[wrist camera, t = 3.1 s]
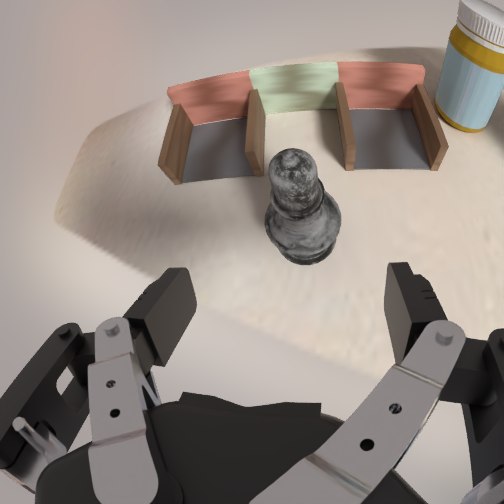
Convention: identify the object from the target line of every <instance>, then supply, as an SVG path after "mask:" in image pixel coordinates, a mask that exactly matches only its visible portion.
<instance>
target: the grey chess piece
mask: <svg viewBox="0 0 504 504" xmlns="http://www.w3.org/2000/svg"><path fill="white" fill-rule="evenodd" d="M268 175H269V179H270V182H271V184H272V190H271V203H270V205H269V206H268V209H267V212H266V215H265V227H266V232H267V234H268V236H269V238H270V240H271V242H272V243H273V244H274V245H275V246H276V247H277V248H279V250H280V252H281V254H282V255H283V256H284V257H285V258H286V259H288V260H289V261H291V262H293V263H296V264H299V265H312V264H316V263H318V262H320V261H322V260H324V259H325V258H326V257H327V256H328V255H329V254H330V253H331V252H332V250H333V248H334V246H335V243H336V237H337V235H338V233H339V230H340V226H341V213H340V210H339V207H338V204H337V203H336V201H335V200H334V199H333V197H332V196H330V195H329V194H328V193H327V192H326V191H325V189H324V186H323V184H322V182H321V181H320V180H319V178H318V174H317V166H316V163H315V161H314V159H313V158H312V157H311V155H310V154H308V153H307V152H305V151H303V150H300V149H295V148H291V149H285V150H283V151H281V152H279V153H278V154H276V155H275V156H274V157H273V159H272V160H271V162H270V164H269V172H268Z"/></svg>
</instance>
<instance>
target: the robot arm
mask: <svg viewBox="0 0 504 504" xmlns="http://www.w3.org/2000/svg"><path fill="white" fill-rule="evenodd" d="M196 307H197V301H196V296H195V293H194V289H193V285H192V282H191V278H190V274H189V271H188V269H187V268H168V269H167V270H166V271H165V272H164V274H163V275H162V276H161V277H160V278H159V279H158V280H156V281H155V282H153V283H152V284H150V285H149V286H148V287H147V288H146V289H145V290H144V292H143V294H141V295H140V296H139V298H138V300H136V301H135V302H134V304H133V305H132V306H131V307H130V308H129V310H128V311H127V312H126V313H125V314H124V316H123V317H115V318H111V319H108V320H106V321H104V322H103V323H101V324H100V325H99V326H98V327H97V329H96V331H95V332H92V333H84V334H83V333H82V331H81V329H80V327H79V325H78V324H76V323H67V324H65V325H62V326H61V327H59V328H58V329H56V330H55V331H54V332H53V334H52V335H51V336H50V337H49V338H48V339H47V340H46V342H45V343H44V344H43V345H42V346H41V348H40V349H39V350H38V351H37V353H36V354H35V355H34V356H33V357H32V358H31V360H30V361H29V362H28V363H27V365H26V366H25V367H24V368H23V370H22V371H21V372H20V373H19V375H18V376H17V377H16V379H15V380H14V381H13V383H12V384H11V385H10V386H9V388H8V389H7V390H6V392H5V393H4V394H3V396H2V397H1V398H0V471H1V472H3V473H4V474H5V475H7V476H8V477H9V478H10V479H12V480H13V481H14V482H16V483H18V484H20V485H22V486H23V487H24V488H25V489H27V490H28V491H30V492H31V493H33V494H35V504H428V503H427V502H426V501H424V499H423V498H422V497H421V496H420V495H419V494H418V493H417V492H416V491H415V490H414V489H413V488H412V487H411V486H410V485H409V484H408V483H407V482H406V481H405V480H404V479H403V478H402V477H401V476H400V475H399V474H398V473H397V472H396V471H395V469H396V468H397V466H398V465H399V463H400V462H401V461H402V459H403V458H404V456H405V455H406V454H407V452H408V450H409V449H410V447H411V446H412V444H413V443H414V441H415V440H416V438H417V437H418V435H419V433H420V432H421V430H422V429H423V427H424V426H425V424H426V422H427V421H428V419H429V417H430V416H431V414H432V412H433V410H434V409H435V407H436V405H437V403H438V402H439V400H440V401H447V402H454V403H461V405H462V410H463V415H464V420H465V426H466V432H467V438H468V444H469V452H470V460H471V470H472V481H473V489H471V490H470V491H469V492H468V493H467V494H466V495H465V496H464V498H463V499H462V501H461V504H504V329H503V328H502V329H496V330H494V331H493V332H492V333H491V334H490V335H489V338H488V340H487V341H485V340H477V339H471V338H467V337H465V333H464V331H463V330H462V328H461V327H460V326H458V325H457V324H455V323H453V322H451V321H448V319H447V317H446V315H445V313H444V311H443V309H442V307H441V304H440V302H439V300H438V299H437V296H436V294H435V292H433V288H432V286H431V284H430V282H429V281H428V280H427V279H425V278H424V277H423V276H422V275H420V274H418V275H414V274H413V272H412V270H411V268H410V266H409V264H408V263H407V262H396V263H389V264H388V267H387V277H386V287H385V296H384V311H385V316H386V320H387V325H388V329H389V333H390V338H391V343H392V347H393V352H394V357H395V362H396V364H394V365H393V366H392V367H391V368H390V369H389V371H388V372H387V373H386V374H385V376H384V377H383V378H382V380H381V381H380V382H379V383H378V385H377V386H376V387H375V388H374V389H373V391H372V392H371V393H370V394H369V395H368V397H367V398H366V399H365V400H364V402H363V403H362V404H361V405H360V406H359V407H358V408H357V409H356V410H355V412H354V413H353V414H352V415H351V416H350V417H349V418H348V419H347V420H346V421H343V420H340V419H338V418H336V417H333V416H330V415H327V414H323V413H321V403H295V402H283V403H276V404H269V405H262V406H254V407H244V406H240V405H237V404H234V403H232V402H229V401H226V400H223V399H220V398H218V397H215V396H209V395H202V394H195V393H188V392H183V393H182V395H181V397H180V399H179V401H175V402H168V403H164V404H162V403H161V399H160V396H159V393H158V390H157V386H156V383H155V379H154V376H153V373H152V371H151V367H152V365H156V366H162V367H165V365H166V364H167V362H168V360H169V358H170V356H171V355H172V352H173V351H174V349H175V347H176V345H177V344H178V342H179V340H180V339H181V337H182V335H183V333H184V331H185V330H186V328H187V326H188V324H189V323H190V321H191V319H192V317H193V316H194V314H195V312H196ZM66 367H68V369H69V370H70V372H71V373H72V375H73V376H74V378H73V379H72V381H71V382H70V384H69V385H68V387H67V388H66V390H65V391H64V392H63V394H62V395H60V394H59V392H58V391H57V388H56V382H57V379H58V378H59V376H60V375H61V374H62V372H63V371H64V369H65V368H66ZM89 413H90V421H91V431H92V441H91V442H89V443H87V444H85V445H83V446H81V447H79V448H78V449H76V450H74V451H72V452H70V453H68V454H67V452H68V450H69V449H70V447H71V445H72V443H73V441H74V439H75V438H76V436H77V434H78V432H79V430H80V428H81V427H82V425H83V423H84V421H85V420H86V418H87V416H88V414H89Z"/></svg>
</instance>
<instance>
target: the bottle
mask: <svg viewBox="0 0 504 504" xmlns="http://www.w3.org/2000/svg"><path fill="white" fill-rule="evenodd" d="M503 88H504V11H502V10H501V9H499V8H498V7H496V6H494V5H492V4H490V3H488V2H486V1H483V0H460V1H459V9H458V17H457V24H456V25H455V26H454V28H453V29H452V30H451V33H450V37H449V41H448V46H447V50H446V55H445V60H444V64H443V68H442V73H441V77H440V81H439V85H438V89H437V92H436V97H435V105H436V107H437V109H438V111H439V113H440V114H441V116H442V117H443V118H444V119H445V121H447V122H448V123H449V124H450V125H451V126H453V127H455V128H457V129H458V130H461V131H464V132H471V133H474V132H479V131H482V130H483V129H484V128H485V126H486V125H487V123H488V121H489V119H490V117H491V115H492V112H493V110H494V108H495V106H496V104H497V102H498V99H499V97H500V95H501V93H502V90H503Z"/></svg>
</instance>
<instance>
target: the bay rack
mask: <svg viewBox="0 0 504 504" xmlns="http://www.w3.org/2000/svg"><path fill="white" fill-rule="evenodd" d="M425 72H426V70H425V68H424V67H423V65H418V64H406V63H390V62H324V63H307V64H295V65H285V66H276V67H268V68H260V69H253V70H247V71H241V72H235V73H229V74H224V75H219V76H214V77H209V78H205V79H200V80H196V81H191V82H188V83H183V84H180V85H176V86H172V87H169V88H168V90H167V95H168V96H169V98H170V99H171V101H172V103H173V104H174V106H173V110H172V113H171V116H170V120H169V123H168V127H167V130H166V134H165V137H164V141H163V145H162V149H161V153H160V157H159V161H158V166H159V167H160V168H161V170H162V171H163V172H164V173H165V174H166V175H167V176H168V177H169V179H170V180H171V181H172V182H173V183H174V184H175V185H178V184H182V183H187V182H195V181H203V180H212V179H221V178H230V177H240V176H251V175H254V174H255V176H261V175H263V169H264V142H265V114H271V113H280V112H291V111H304V110H320V109H337V115H338V121H339V127H340V133H341V140H342V147H343V154H344V161H345V169H346V171H351V170H354V167H355V170H356V169H425V170H429V169H430V170H431V171H438V169H439V166H440V164H441V162H442V160H443V158H444V156H445V154H446V151H447V149H448V147H449V146H448V143H447V141H446V138H445V135H444V132H443V130H442V127H441V125H440V122H439V120H438V117H437V115H436V112H435V110H434V108H433V105H432V103H431V101H430V99H429V96H428V94H427V92H426V90H425V88H424V86H423V82H424V77H425ZM349 108H390V109H411V110H381V109H355V110H349ZM246 116H248V117H247V118H240V119H233V120H226V121H220V122H214V123H208V124H203V125H197V126H193V125H196V124H202V123H207V122H213V121H219V120H225V119H232V118H239V117H246ZM423 146H424V147H423Z"/></svg>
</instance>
